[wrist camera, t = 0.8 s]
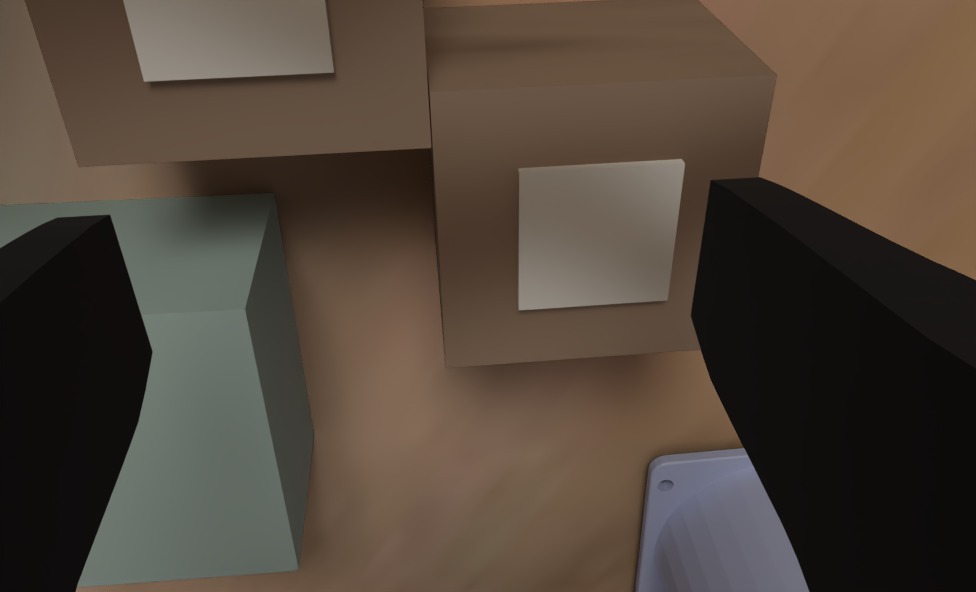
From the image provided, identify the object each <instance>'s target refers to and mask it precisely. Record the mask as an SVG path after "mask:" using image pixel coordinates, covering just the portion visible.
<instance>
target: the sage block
mask: <svg viewBox="0 0 976 592" xmlns="http://www.w3.org/2000/svg"><path fill="white" fill-rule="evenodd" d="M92 215H111V219H112V222H113V225H114V228H115V232H116V235H117V238H118V241H119V245H120V248H121V251H122V254H123V257H124V261H125V264H126V267H127V270H128V274H129V277H130V280H131V283H132V287H133V290H134V293H135V296H136V299H137V303H138V306H139V309H140V312H141V316H142V319H143V322H144V325H145V329H146V332H147V335H148V338H149V341H150V345H151V348H152V351H153V353H152V359H151V364H150V369H149V375H148V380H147V385H146V391H145V395H144V400H143V404H142V408H141V413H140V417H139V422H138V425H137V427H136V430H135V433H134V436H133V439H132V442H131V444H130V447H129V450H128V452H127V455H126V458H125V461H124V463H123V466H122V469H121V471H120V474H119V477H118V479H117V482H116V485H115V487H114V490H113V493H112V495H111V498H110V501H109V503H108V506H107V508H106V511H105V514H104V516H103V519H102V522H101V524H100V527H99V529H98V532H97V535H96V537H95V540H94V543H93V545H92V548H91V550H90V553H89V556H88V558H87V561H86V564H85V566H84V569H83V572H82V574H81V577H80V579H79V582H78V585H77V587H90V586H103V585H116V584H129V583H142V582H156V581H169V580H182V579H195V578H208V577H221V576H235V575H248V574H261V573H274V572H287V571H299V565H300V556H301V547H302V538H303V529H304V520H305V511H306V502H307V493H308V484H309V475H310V467H311V458H312V449H313V440H314V432H313V425H312V419H311V413H310V407H309V401H308V395H307V389H306V383H305V377H304V371H303V365H302V359H301V353H300V347H299V341H298V335H297V329H296V322H295V316H294V310H293V304H292V298H291V292H290V286H289V280H288V274H287V268H286V262H285V256H284V250H283V244H282V238H281V232H280V226H279V220H278V213H277V207H276V201H275V195H274V193H264V194H241V195H219V196H196V197H174V198H152V199H129V200H107V201H84V202H62V203H39V204H17V205H0V248H1V247H3V246H4V245H6V244H8V243H9V242H11V241H13V240H14V239H16V238H18V237H20V236H21V235H23V234H25V233H27V232H28V231H30V230H32V229H34V228H36V227H38V226H40V225H42V224H44V223H46V222H48V221H50V220H53V219H55V218H57V217H75V216H92Z"/></svg>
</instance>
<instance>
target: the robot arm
mask: <svg viewBox="0 0 976 592" xmlns="http://www.w3.org/2000/svg"><path fill="white" fill-rule="evenodd" d="M691 319H692V322H693V325H694V329H695V332H696V335H697V339H698V342H699V345H700V348H701V352H702V355H703V358H704V361H705V364H706V367H707V370H708V372H709V375H710V378H711V381H712V383H713V385H714V387H715V389H716V392H717V394H718V396H719V398H720V400H721V402H722V404H723V406H724V408H725V410H726V412H727V414H728V416H729V418H730V421H731V423H732V425H733V427H734V429H735V431H736V433H737V435H738V437H739V439H740V441H741V443H742V445H743V447H744V448H739V449H728V450H717V451H706V452H695V453H684V454H673V455H664V456H659V457H658V458H656V459H654V460H653V461H652V462H651V463H650V465H649V468H648V476H647V486H646V495H645V504H644V513H643V523H642V532H641V541H640V550H639V560H638V569H637V578H636V587H635V592H976V280H974V279H972V278H970V277H967V276H965V275H963V274H961V273H958V272H956V271H954V270H952V269H949V268H947V267H945V266H943V265H941V264H938V263H936V262H934V261H932V260H929V259H927V258H925V257H923V256H921V255H919V254H917V253H915V252H913V251H911V250H909V249H907V248H904V247H902V246H900V245H898V244H896V243H894V242H892V241H890V240H888V239H886V238H884V237H882V236H880V235H878V234H876V233H874V232H872V231H871V230H869V229H867V228H865V227H863V226H861V225H859V224H857V223H855V222H853V221H851V220H849V219H847V218H845V217H843V216H841V215H839V214H837V213H835V212H834V211H832V210H830V209H828V208H826V207H824V206H822V205H820V204H818V203H816V202H814V201H812V200H810V199H808V198H806V197H804V196H802V195H800V194H798V193H796V192H794V191H792V190H790V189H788V188H785V187H783V186H781V185H779V184H776V183H774V182H771V181H769V180H766V179H763V178H760V177H755V178H737V179H720V180H711V181H710V188H709V194H708V201H707V208H706V215H705V221H704V228H703V235H702V242H701V248H700V255H699V262H698V269H697V275H696V282H695V289H694V296H693V302H692V309H691ZM152 353H153V351H152V348H151V345H150V341H149V338H148V335H147V332H146V329H145V325H144V322H143V319H142V316H141V312H140V309H139V306H138V303H137V299H136V296H135V293H134V290H133V287H132V283H131V280H130V277H129V274H128V270H127V267H126V264H125V261H124V257H123V254H122V251H121V248H120V245H119V241H118V238H117V235H116V232H115V228H114V225H113V222H112V219H111V215H92V216H75V217H57V218H55V219H53V220H50V221H48V222H46V223H44V224H42V225H40V226H38V227H36V228H34V229H32V230H30V231H28V232H27V233H25V234H23V235H21V236H20V237H18V238H16V239H14V240H13V241H11V242H9V243H8V244H6V245H4V246H3V247H1V248H0V592H75V591H76V588H77V585H78V582H79V579H80V577H81V574H82V572H83V569H84V566H85V564H86V561H87V558H88V556H89V553H90V550H91V548H92V545H93V543H94V540H95V537H96V535H97V532H98V529H99V527H100V524H101V522H102V519H103V516H104V514H105V511H106V508H107V506H108V503H109V501H110V498H111V495H112V493H113V490H114V487H115V485H116V482H117V479H118V477H119V474H120V471H121V469H122V466H123V463H124V461H125V458H126V455H127V452H128V450H129V447H130V444H131V442H132V439H133V436H134V433H135V430H136V427H137V425H138V422H139V417H140V413H141V408H142V404H143V400H144V395H145V391H146V385H147V380H148V375H149V369H150V364H151V359H152ZM664 480H667V481H664ZM661 481H664V482H661Z"/></svg>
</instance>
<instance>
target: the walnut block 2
mask: <svg viewBox="0 0 976 592" xmlns="http://www.w3.org/2000/svg"><path fill="white" fill-rule="evenodd" d="M423 14H424V31H425V48H426V65H427V81H428V98H429V115H430V132H431V148H430V159H431V176H432V192H433V209H434V225H435V241H436V255H437V267H438V280H439V292H440V304H441V316H442V329H443V341H444V353H445V366H446V368H454V367H468V366H482V365H496V364H510V363H523V362H537V361H551V360H565V359H579V358H592V357H606V356H620V355H634V354H648V353H661V352H675V351H689V350H701V348H700V345H699V342H698V339H697V335H696V332H695V329H694V325H693V322H692V319H691V309H692V302H693V296H694V289H695V282H696V275H697V269H698V262H699V255H700V248H701V242H702V235H703V228H704V221H705V215H706V208H707V201H708V194H709V188H710V181H711V180H720V179H737V178H755V177H758V176H759V170H760V165H761V159H762V154H763V149H764V143H765V138H766V132H767V127H768V121H769V116H770V111H771V105H772V100H773V94H774V89H775V84H776V78H777V74H776V73H775V72H774V71H773V70H772V69H770V68H769V67H768V66H767V65H766V64H765V63H764V62H763V61H762V60H761V59H760V58H759V57H758V56H757V55H756V54H755V53H754V52H752V51H751V50H750V49H749V48H748V47H747V46H746V45H745V44H744V43H743V42H742V41H741V40H740V39H739V38H738V37H737V36H736V35H734V34H733V33H732V32H731V31H730V30H729V29H728V28H727V27H726V26H725V25H724V24H723V23H722V22H721V21H720V20H719V19H718V18H716V17H715V16H714V15H713V14H712V13H711V12H710V11H709V10H708V9H707V8H706V7H705V6H704V5H703V4H702V3H701V2H700V1H698V0H604V1H581V2H558V3H534V4H511V5H488V6H465V7H442V8H423Z"/></svg>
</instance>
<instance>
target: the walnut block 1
mask: <svg viewBox="0 0 976 592" xmlns="http://www.w3.org/2000/svg"><path fill="white" fill-rule="evenodd" d="M25 2H26V5H27V8H28V11H29V14H30V18H31V21H32V24H33V27H34V30H35V33H36V36H37V39H38V42H39V45H40V49H41V52H42V55H43V58H44V61H45V64H46V67H47V70H48V73H49V76H50V80H51V83H52V86H53V89H54V92H55V95H56V98H57V101H58V104H59V107H60V111H61V114H62V117H63V120H64V123H65V126H66V129H67V132H68V135H69V138H70V142H71V145H72V148H73V151H74V154H75V157H76V160H77V163H78V166H79V167H88V166H106V165H125V164H143V163H162V162H181V161H199V160H218V159H236V158H255V157H273V156H292V155H311V154H329V153H348V152H366V151H385V150H403V149H422V148H431V132H430V115H429V98H428V81H427V65H426V48H425V31H424V14H423V0H25Z"/></svg>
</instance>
